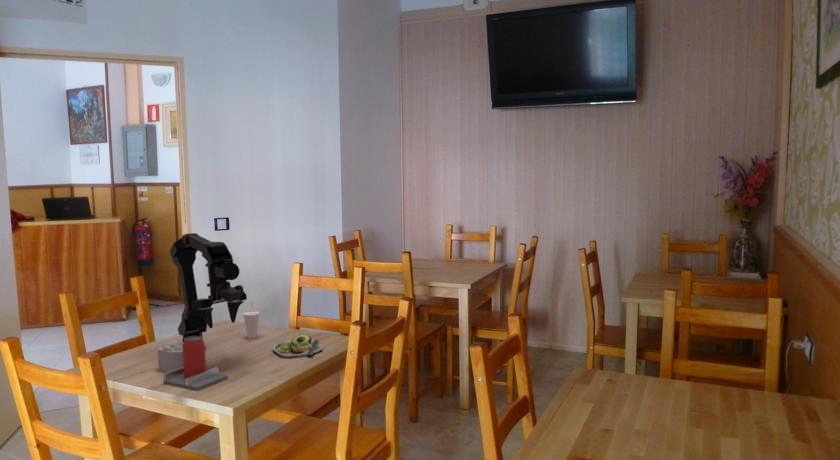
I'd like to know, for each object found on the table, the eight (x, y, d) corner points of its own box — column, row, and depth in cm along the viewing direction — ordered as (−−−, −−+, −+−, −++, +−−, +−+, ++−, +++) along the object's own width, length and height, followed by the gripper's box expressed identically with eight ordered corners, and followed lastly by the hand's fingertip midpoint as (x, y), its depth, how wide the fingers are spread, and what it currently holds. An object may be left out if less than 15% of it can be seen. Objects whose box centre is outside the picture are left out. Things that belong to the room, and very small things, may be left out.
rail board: (194, 371, 202) (194, 362, 202) (227, 378, 195) (227, 369, 194) (163, 383, 191) (163, 373, 191) (197, 390, 184) (197, 380, 184)
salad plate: (333, 355, 218) (332, 342, 218) (283, 363, 210) (282, 350, 210) (315, 342, 235) (315, 330, 235) (269, 349, 227) (268, 337, 227)
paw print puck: (182, 360, 214) (181, 336, 213) (204, 367, 206) (203, 342, 206) (154, 368, 206) (152, 343, 205) (176, 376, 198) (174, 349, 197)
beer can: (184, 373, 197) (182, 336, 196) (206, 370, 199) (204, 334, 198) (183, 379, 191) (181, 341, 190) (205, 377, 193) (203, 339, 192)
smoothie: (264, 336, 244) (262, 301, 243) (251, 340, 239) (250, 304, 237) (252, 334, 247) (251, 300, 246) (240, 338, 242) (238, 303, 241)
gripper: (210, 283, 197) (215, 331, 197) (255, 275, 213) (259, 320, 213) (188, 283, 203) (193, 330, 204) (233, 276, 219) (238, 319, 219)
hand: (222, 325), depth 210 cm, fingers open, 9 cm apart
